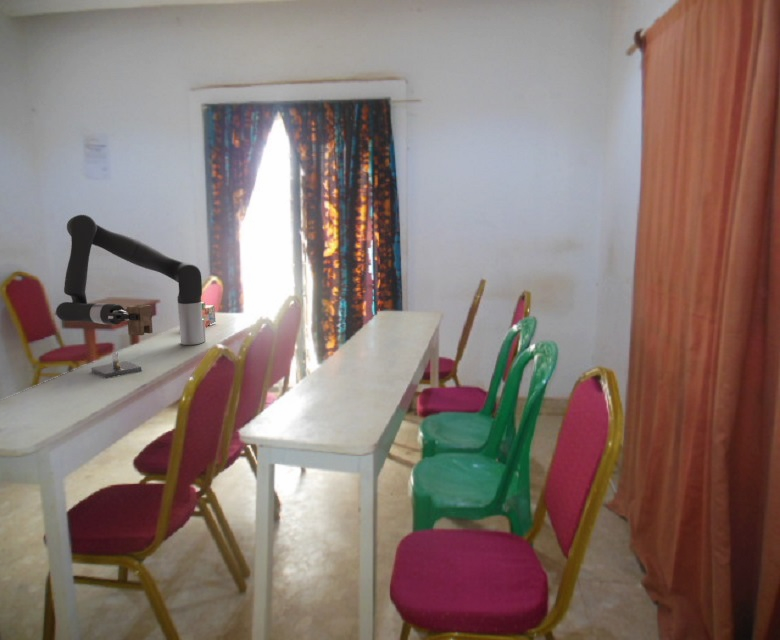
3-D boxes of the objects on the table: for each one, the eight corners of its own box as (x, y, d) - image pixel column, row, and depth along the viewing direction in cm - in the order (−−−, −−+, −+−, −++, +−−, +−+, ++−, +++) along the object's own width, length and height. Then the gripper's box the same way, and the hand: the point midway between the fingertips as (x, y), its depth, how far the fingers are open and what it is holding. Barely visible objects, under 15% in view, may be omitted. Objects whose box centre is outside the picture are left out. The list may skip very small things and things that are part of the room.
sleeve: (128, 334, 208) (126, 306, 206) (139, 332, 213) (138, 304, 212) (141, 335, 206) (139, 307, 205) (152, 332, 211) (151, 305, 210)
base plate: (91, 371, 203) (89, 353, 202) (126, 365, 211) (124, 347, 210) (105, 378, 195) (103, 359, 194) (141, 371, 203) (139, 352, 202)
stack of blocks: (204, 323, 291) (202, 299, 289) (215, 324, 290) (214, 299, 288) (181, 332, 270) (179, 305, 268) (194, 332, 269) (192, 306, 267)
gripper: (90, 305, 206) (129, 307, 201) (121, 301, 219) (158, 303, 214) (92, 327, 207) (131, 329, 202) (122, 321, 220) (159, 323, 215)
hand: (145, 315), depth 208 cm, fingers closed on sleeve, 5 cm apart
